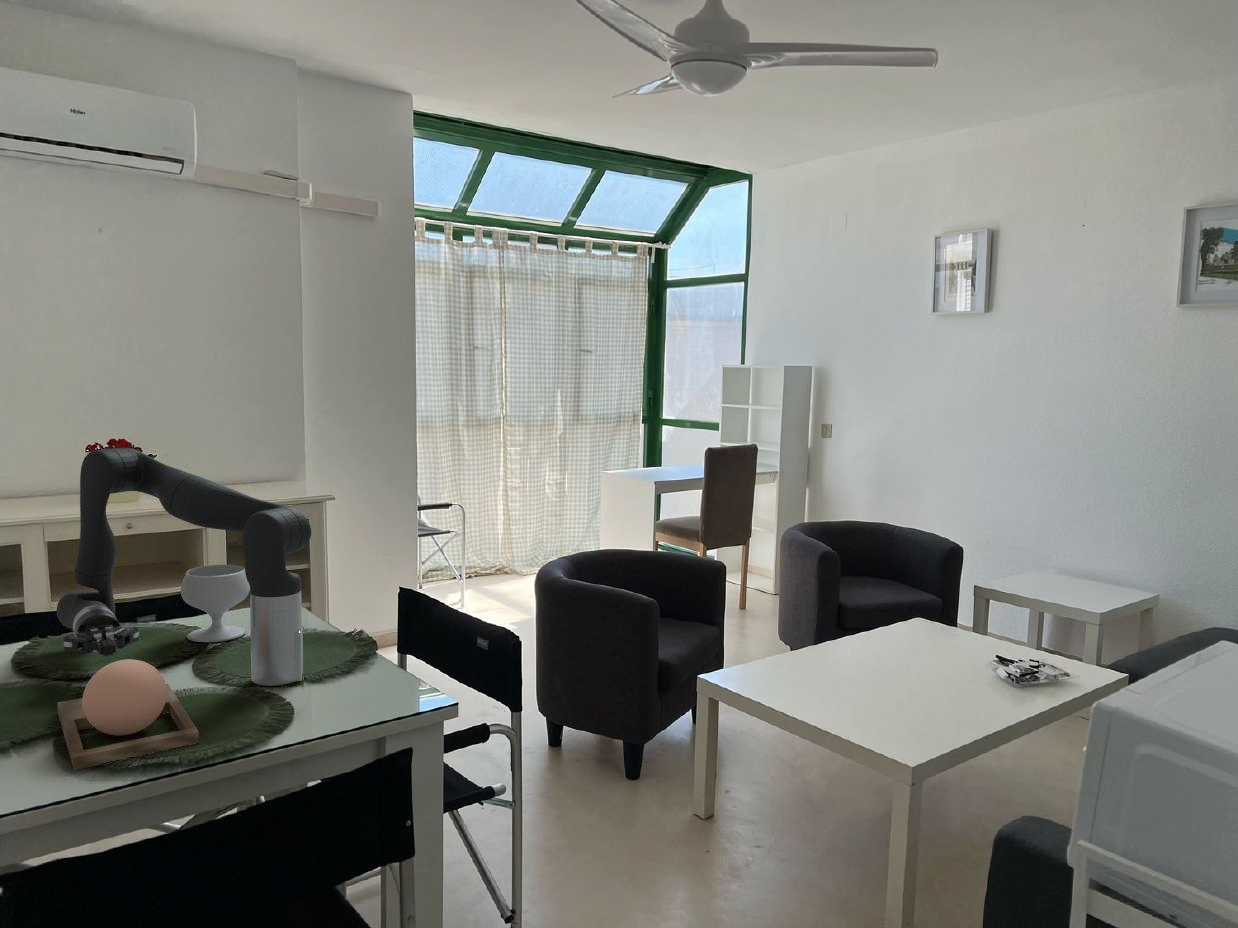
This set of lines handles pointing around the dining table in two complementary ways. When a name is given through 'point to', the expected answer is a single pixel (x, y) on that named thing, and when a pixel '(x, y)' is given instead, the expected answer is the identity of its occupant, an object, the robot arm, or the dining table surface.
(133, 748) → the wooden rectangular frame
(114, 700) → the ball
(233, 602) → the chalice
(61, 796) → the dining table surface
